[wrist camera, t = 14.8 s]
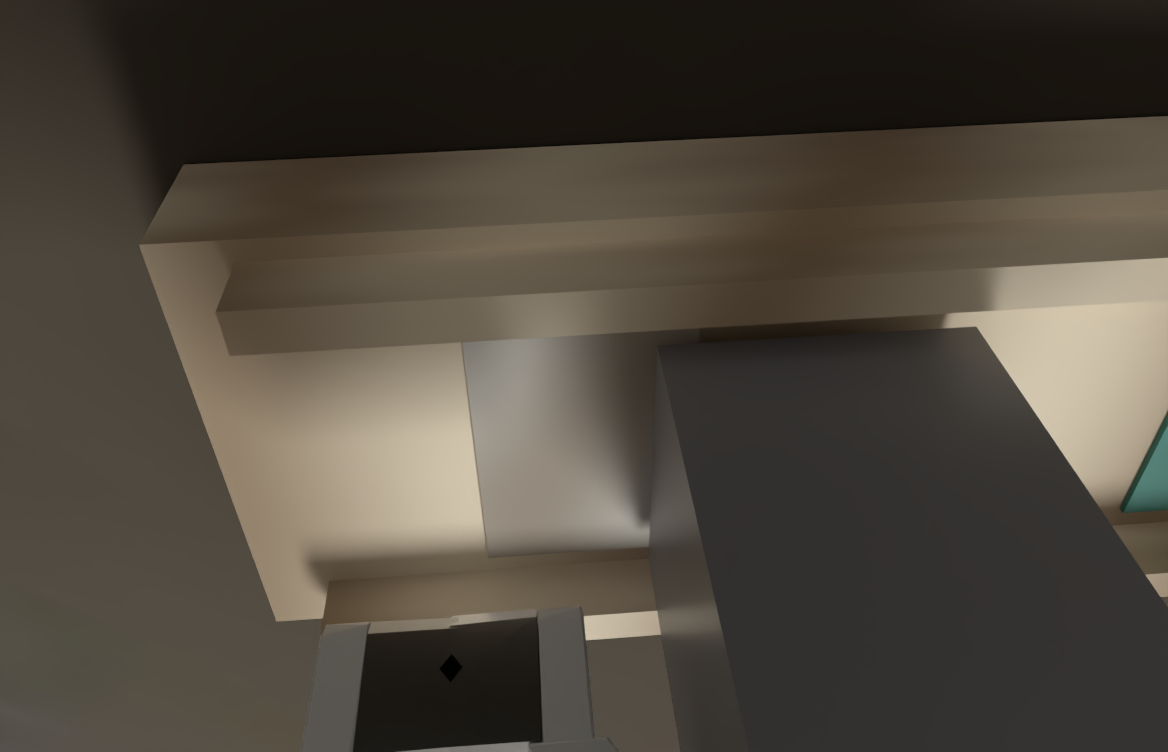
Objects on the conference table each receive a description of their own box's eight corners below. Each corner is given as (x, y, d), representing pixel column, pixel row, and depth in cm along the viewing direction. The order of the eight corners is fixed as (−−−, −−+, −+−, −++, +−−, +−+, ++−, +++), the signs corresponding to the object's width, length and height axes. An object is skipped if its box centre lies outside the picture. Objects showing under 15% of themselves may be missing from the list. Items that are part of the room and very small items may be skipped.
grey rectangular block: (976, 326, 12) (1296, 796, 7) (910, 539, 14) (1114, 989, 10) (657, 345, 12) (769, 842, 7) (648, 558, 14) (726, 1026, 9)
